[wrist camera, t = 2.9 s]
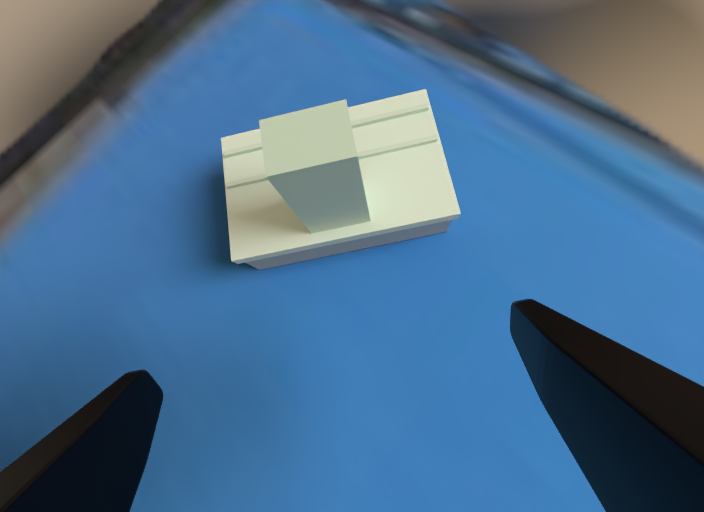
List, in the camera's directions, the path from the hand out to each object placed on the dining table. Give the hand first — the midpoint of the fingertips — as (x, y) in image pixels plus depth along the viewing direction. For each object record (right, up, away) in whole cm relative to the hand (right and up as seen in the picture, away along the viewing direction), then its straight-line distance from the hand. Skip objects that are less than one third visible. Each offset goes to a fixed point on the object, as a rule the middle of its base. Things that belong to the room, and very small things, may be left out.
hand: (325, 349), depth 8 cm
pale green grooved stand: (-1, +7, +13) cm, 15 cm away
